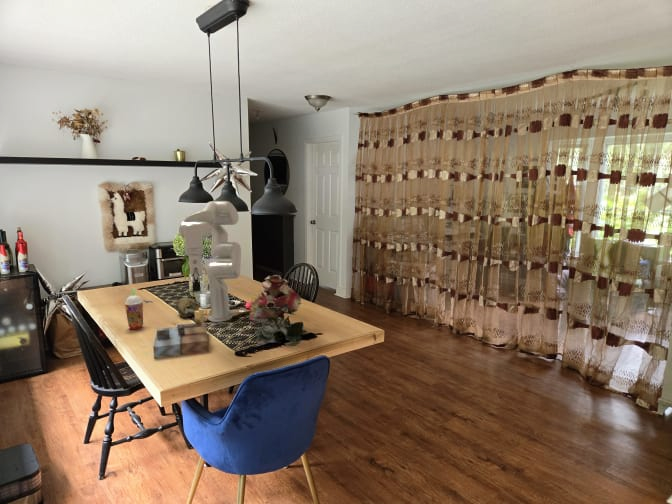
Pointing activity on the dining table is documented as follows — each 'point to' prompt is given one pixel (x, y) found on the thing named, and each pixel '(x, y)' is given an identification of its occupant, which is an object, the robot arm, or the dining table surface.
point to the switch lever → (197, 321)
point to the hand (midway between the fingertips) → (196, 288)
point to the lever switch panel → (180, 341)
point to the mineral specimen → (187, 307)
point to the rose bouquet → (276, 312)
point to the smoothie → (134, 311)
